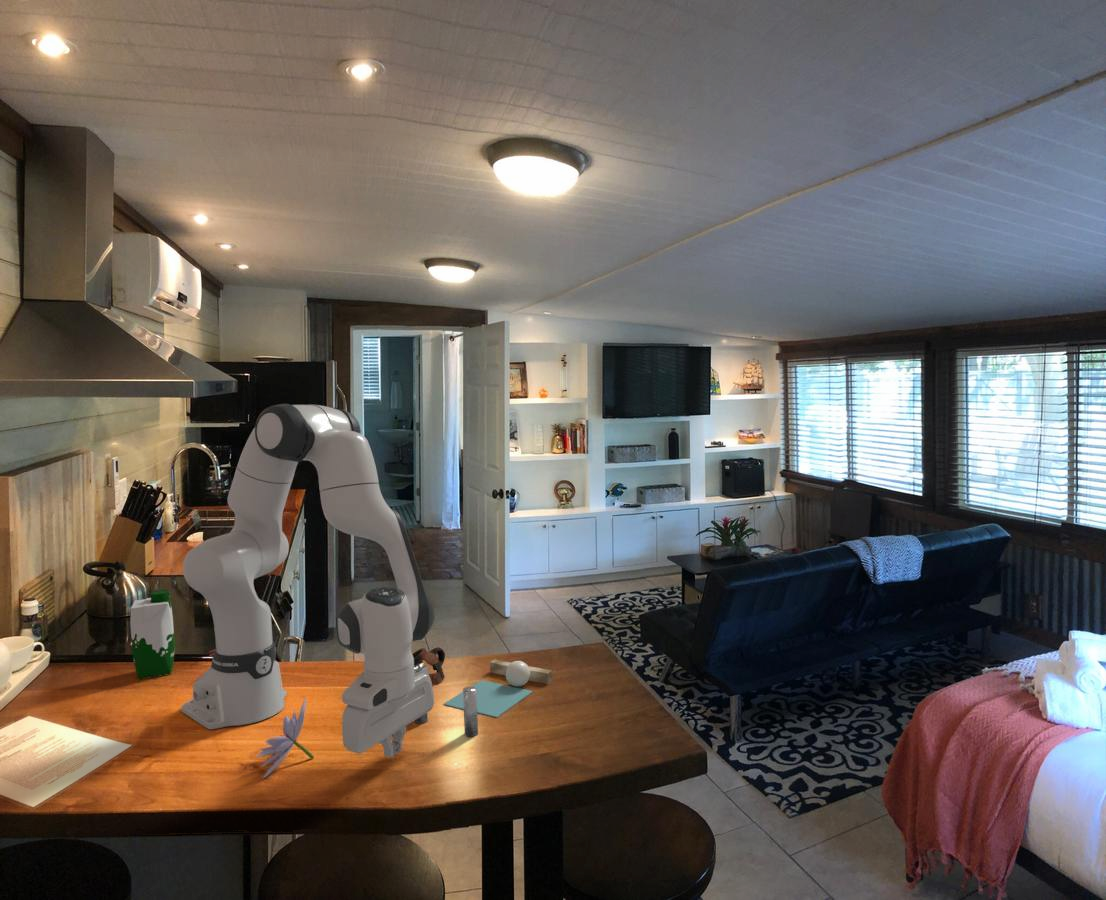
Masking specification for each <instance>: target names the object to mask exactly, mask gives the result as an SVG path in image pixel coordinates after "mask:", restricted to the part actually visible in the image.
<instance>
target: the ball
mask: <svg viewBox="0 0 1106 900" xmlns="http://www.w3.org/2000/svg"><path fill="white" fill-rule="evenodd" d="M528 666H529V665H528V664H527V663H525V662H524V661H522V660H514V661H512V662H510V664H509V665H508V667H507V669H506V676H505V678H506V681H507V682H508V683H509V684H510V685H511V686H512V687H516V688H520V687H522V686H524V685H526V684H527V683H528V682H529V678H530V669H529V667H528Z"/></svg>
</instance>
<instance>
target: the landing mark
mask: <svg viewBox="0 0 1106 900" xmlns="http://www.w3.org/2000/svg"><path fill="white" fill-rule="evenodd" d="M470 687H475V688H476V692H477V714H480V715H485V716H488V717H491V718H492V717H493V718H496V719H497V718H499V717H501V716H502V715H503V714H504V713H506V712H508V711H509V710H510V709H511V708H513V707H515V706H517V704H519V703H521V701H523V700H524V699H525V698H527V697H528V696H530V695H531V694H532V693H533V692H534V691H533V690H530V689H525V688H521V687H516V686H512V685H511V686H510V685H506V684H502V683H496V682H492V681H488V680H483V679H481V680H479V681H478V682H476V683H474V684H473V685H471V686H470ZM443 705H444V706H447V707H450V708H451V707H452V708H456V709H460V710H463V711H464V704H463V691H461V692H460V693H459V694H457V695H455V696H453V697H452V698H450V699H449V700H447V701H446V702H444V703H443Z"/></svg>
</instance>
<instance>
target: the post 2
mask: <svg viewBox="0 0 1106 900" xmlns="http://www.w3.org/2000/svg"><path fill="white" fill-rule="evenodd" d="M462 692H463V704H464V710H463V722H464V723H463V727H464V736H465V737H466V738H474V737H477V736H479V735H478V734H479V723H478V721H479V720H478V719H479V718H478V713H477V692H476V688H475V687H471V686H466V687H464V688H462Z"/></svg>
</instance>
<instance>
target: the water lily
mask: <svg viewBox="0 0 1106 900" xmlns="http://www.w3.org/2000/svg"><path fill="white" fill-rule="evenodd" d="M306 703H307V697H304V700H303V702H302V706H301V707H300V711H299V714H298V715H297V714H296V709H294V710H293V713H292V717H291V718H290V717H288V716H286V715H285V716H284V718H283V724H282V730H283V731H282V732H283V734H281V735H279V736H276V737H272V738H271V737H270V738H269V739H267V740H265V741H264V742H265V744H266V745H268V747H264V748H263V747H262V748H261V749H259V751H261V752H259V753H258V754H257V755H256V757H265V756H271V755H272V756H271V757H269V758H268V759H267V760H266V761H265V762H264V763H263V764H262V765H261V768H262V767H265V766H267V765H268V764H269V765H270V763H272V765H270V767H269V768H268V770H267V771H266V772H265V774H264V776H263V779H262V780H264V779H266V778H267V777H268V776H269V775H270V774H271V773H272V772H273V771H274V770H275V769H276V768H277V767H278V766H279V765H280V764H281V763H283V760H285V758H286V757H287V755H288V754H289V753H290V752H291V750H292V748H293V746H294V745H295V746H296V747H298V749H299V750H301V751H303V753H305V754H306V755H307V756H308V757H309V758H310V759H311V760H314V757H315V755H314V754H313V753H311V752H310V751H309V750H308V749H307V748H305V747H304V746H303V745H302V744H300V743H299V742H298V741H297V739H298V737H299V735H300V733H301V731H302V728H303V725H304V722H305V721H304V720H305V712H306V708H307V707H306V706H307V704H306ZM273 754H274V755H273Z"/></svg>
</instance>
